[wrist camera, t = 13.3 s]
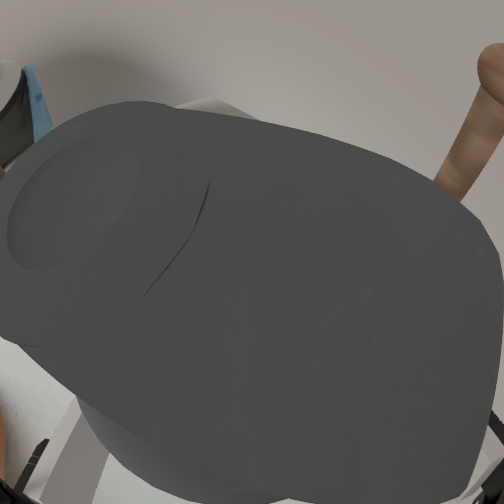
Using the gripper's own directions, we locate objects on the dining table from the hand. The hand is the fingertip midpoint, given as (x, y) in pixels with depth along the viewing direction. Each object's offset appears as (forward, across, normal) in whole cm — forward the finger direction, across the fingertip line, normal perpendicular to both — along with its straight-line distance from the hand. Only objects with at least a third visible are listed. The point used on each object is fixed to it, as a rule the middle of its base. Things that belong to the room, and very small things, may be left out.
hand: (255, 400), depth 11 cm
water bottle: (+14, 0, -12) cm, 18 cm away
